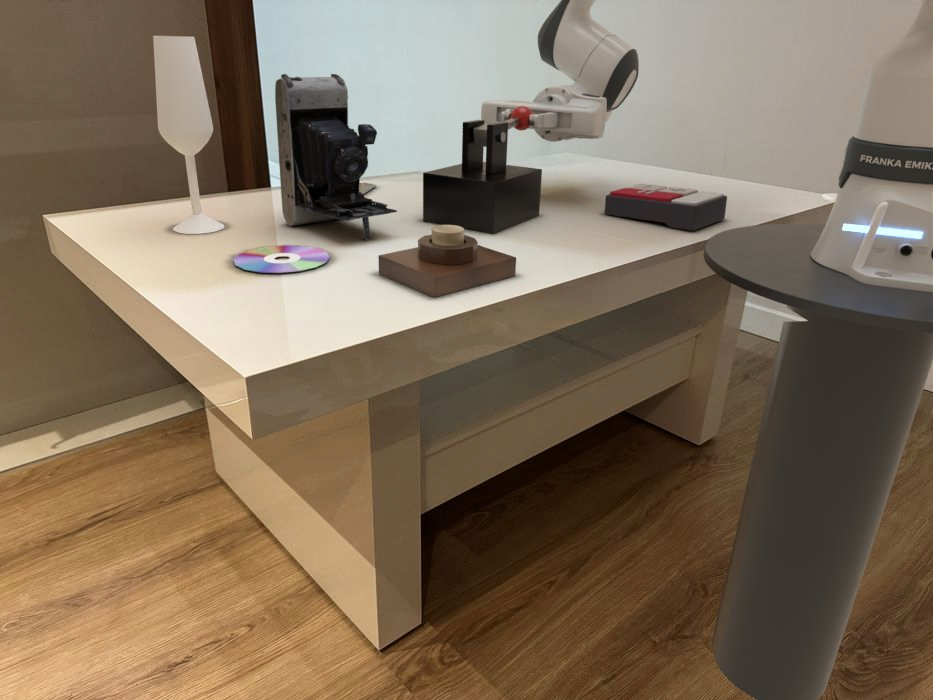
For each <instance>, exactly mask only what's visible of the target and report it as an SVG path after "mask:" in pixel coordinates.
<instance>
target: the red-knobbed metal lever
mask: <svg viewBox="0 0 933 700" xmlns="http://www.w3.org/2000/svg"><path fill="white" fill-rule="evenodd" d="M530 114H533V113H532V111H531V110H530V109H529V108H528V107H525V106H519V107H516V108H515V109H514V110H513V111H512V113H511V115H510V119H509V120H507V121H504V122H508V131H509V130H510V129H512V128H514V129H515V130H517V131H521V132H522V131H526V130H529V129H528V128H529V127H530V126H529V121H530V120H529V116H530ZM487 125H488V124H483V125H480V126H478V127H476V128H474V129H473V130H474V145H475V146H484V148H486V143H487Z"/></svg>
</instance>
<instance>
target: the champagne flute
mask: <svg viewBox="0 0 933 700" xmlns="http://www.w3.org/2000/svg"><path fill="white" fill-rule="evenodd" d="M152 40H153V60H154V77H155V95H156V97H155V99H156V116H157V117H156V118H157V130H158V132H159V134H160V136H161V137H162V138H163V140H164V141H165V142H166V143H167V144H168V145H169V146H171V148H173V149H174V150H175V151H177V152H178V153H180V154H182V156H183V155H184V159H185V167H186V174H187V175H186V176H187V182H188V183H187V184H188V190H189V197H190V205H191V211H192V214H190V215H189V216H188V217H186V218H185V219H184V220H182V221H180V223H178V224H177V225H175V226H174V227H173V229H172V230H173V231H174V232H176V233H179V234H184V235H185V234H187V235H200V234H210V233H214V232H219V231H221V230H224V228H225V224H223V223H221V222H219V221H217V220H216V219H213V218H212V217H210V216H208V215H205V214H204V213H203V212H202V204H201V195H200V189H199V182H198V181H199V179H198V172H197V167H196V166H197V165H196V157H195V155H196V154H198V153H199V152H201V150H203V148H205V146H206V145H207V144H208V142H209V141H210V139H211V137H212V136H213V133H214V124H213V120H212V114H211V110H210V106H209V101H208V96H207V91H206V86H205V81H204V77H203V71H202V66H201V62H200V58H199V57H200V56H199V52H198V48H197V44H196V38H195V36H183V35H181V36H179V35H153V36H152Z"/></svg>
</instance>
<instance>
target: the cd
mask: <svg viewBox="0 0 933 700" xmlns="http://www.w3.org/2000/svg"><path fill="white" fill-rule="evenodd" d="M280 257H283V258H287V259H276V258H280ZM330 259H331V256H330V255H329V253H328V252H327V251H326V250H323V249H320V248H318V247H313V246H312V247H311V246H306V245H291V244H290V245H287V244H283V245H271V246H264V247H263V246H262V247H257V248H253V249H249V250H246V251H244V252H241V253H239V254H237V255H236V256H235V257H234V258H233V260H232V261H233V264H234V266H236V267H237V268H240V269H242V270H244V271H249V272H256V273H264V274H265V273H266V274H269V273H270V274H285V273H295V272H296V273H297V272H302V271H306V270H311V269H316V268H318V267H320V266H322V265H324V264H326V263H327V262H328V261H329V260H330Z"/></svg>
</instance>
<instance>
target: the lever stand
mask: <svg viewBox="0 0 933 700" xmlns="http://www.w3.org/2000/svg"><path fill="white" fill-rule="evenodd" d="M483 124H484V120H481V119H474V120H468V121H463V122H462V135H461V136H462V137H461V138H462V139H461V140H462V141H461V163H459V164H454V165H449V166H446V167H441V168H436V169H433V170H429V171H424V172H423V173H422V221H423V222H427V223H432V224H438V225H456V226H460V227H463V228H464V230H465V229H466V230H471V231H476V232H481V233H487V234H492V235H494V234H496V233H499V232H501V231H504V230H506V229H508V228H509V229H510V228H511V227H514V226H516V225H519V224H521V223H524V222H526V221H528V220H532V219H533V218H535V217H538V216H540V209H541V208H540V206H541V194H542V193H541V189H542V178H543V177H542V175H543V169H542V168H535V167H527V166H519V165H512V164H507V162H508V159H507V158H508V157H507V156H508V137H509V130H508V122H500V123H494V124H487V143H486V147H484V146H475V145H474V130H473V129H474V128H476V127H478V126H480V125H483ZM484 148H485V161H484Z"/></svg>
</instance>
